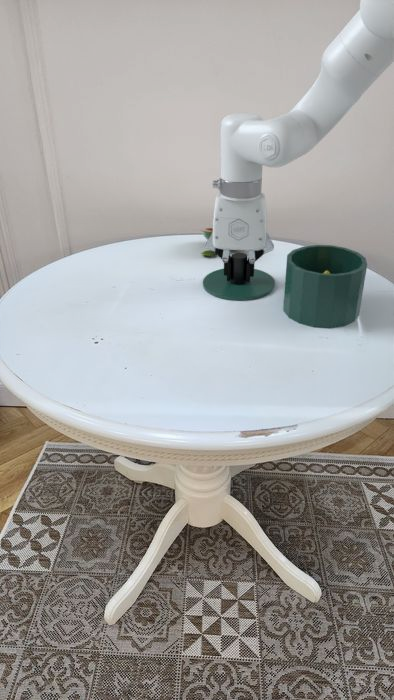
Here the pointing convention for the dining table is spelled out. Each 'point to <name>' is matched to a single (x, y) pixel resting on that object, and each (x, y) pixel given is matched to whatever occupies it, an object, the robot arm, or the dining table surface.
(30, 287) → the dining table surface
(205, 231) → the green brown turtle figurine
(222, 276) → the lid
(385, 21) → the robot arm
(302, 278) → the pot
